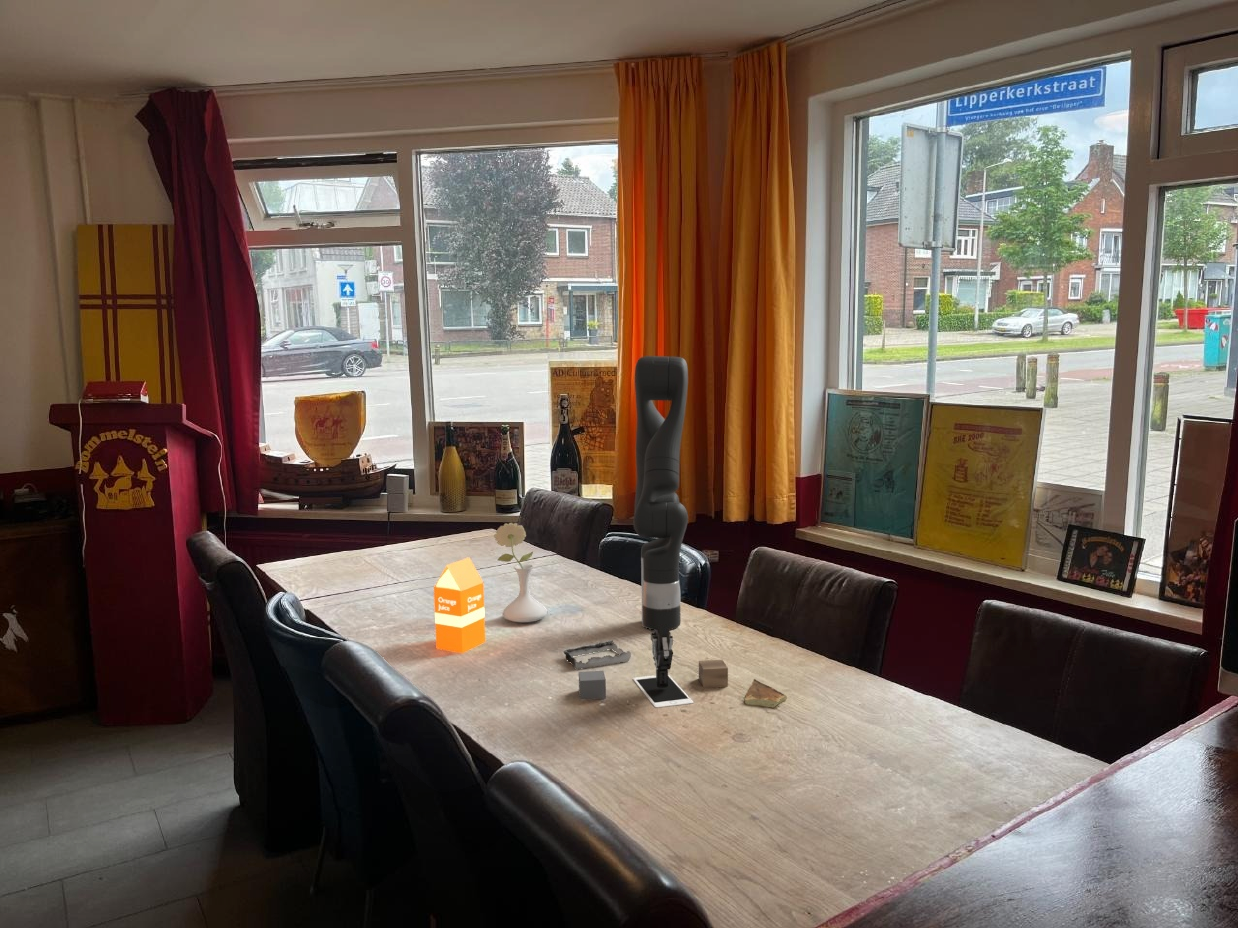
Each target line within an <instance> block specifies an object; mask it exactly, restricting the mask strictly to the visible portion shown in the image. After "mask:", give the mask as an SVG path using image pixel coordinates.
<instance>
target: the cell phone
mask: <svg viewBox="0 0 1238 928" xmlns="http://www.w3.org/2000/svg"><path fill="white" fill-rule="evenodd" d="M632 681H633V682H634V683H635V684H636V685H637V687H638V688H639V689H640V691H641V692H642V693H643V694H644V695H645V697H646V699H648V700H649V702H650V703H651V705H652V706H653V708H655V709H659V708H669V707H676V706H678V707H679V706H684V705H685V706H686V705H691V704H694V700H692V698H691V697H689V695H688V694H687V693H686V692H685V691H684V690H683V689H682V687H680V685H679V684H678V683H677V681H675V679H673V677H672V676H671V675H670V674H668V687H666V688H658V687H657V684H656V674H654V675H653V674H652V675H646V676H645V675H644V676H638V677H637V676H635V677H632Z"/></svg>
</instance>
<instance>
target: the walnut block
mask: <svg viewBox="0 0 1238 928" xmlns="http://www.w3.org/2000/svg"><path fill="white" fill-rule="evenodd" d="M698 680H699V682H700V684H701V685H702V688H704V689H706V688H722V687H724V688H727V687H729V681H728V680H729V668H728V666H727V665H726V662H724V660H723V659H711V660H710V659H709V660H705V659H704V660H698Z"/></svg>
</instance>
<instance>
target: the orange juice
mask: <svg viewBox="0 0 1238 928" xmlns="http://www.w3.org/2000/svg"><path fill="white" fill-rule="evenodd" d="M438 578H439V579H438V580H437V582H436V583H435V586H433V600H434V602H433V603H434V623H435V645H436V646H435V648H436V649H437V650H442V649H443V650H442V651H449V652H454V653H458V654H464V653H466V652H468V651H470V650H472V649H474V648H476V647H479V646H480V645H483V644H484V643H486V629H485V628H486V625H485V624H486V623H485V615H486V614H485V598H484V597H485V595H484V594H485V593H484V590H485V589H484V581H483V579H482V577H481V575H480V574H479V572H478V570H477V568H476V566H475V565H474V563H473V561H472V559H471V558H470V557H469V556H468V557H465V558H463V559H461V560H457V561H455V562H452V563H449V564H446V565H445V568H444V569H443V571H442V572H441V575H440V577H438Z"/></svg>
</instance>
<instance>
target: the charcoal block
mask: <svg viewBox="0 0 1238 928" xmlns="http://www.w3.org/2000/svg"><path fill="white" fill-rule="evenodd" d="M606 684H607V682H606V676H605V672H604V670H589V671H588V670H587V671H578V692H579V693H578V694H579V698H580V701H582V700H583V701H587V700H605V699H607V685H606Z"/></svg>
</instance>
